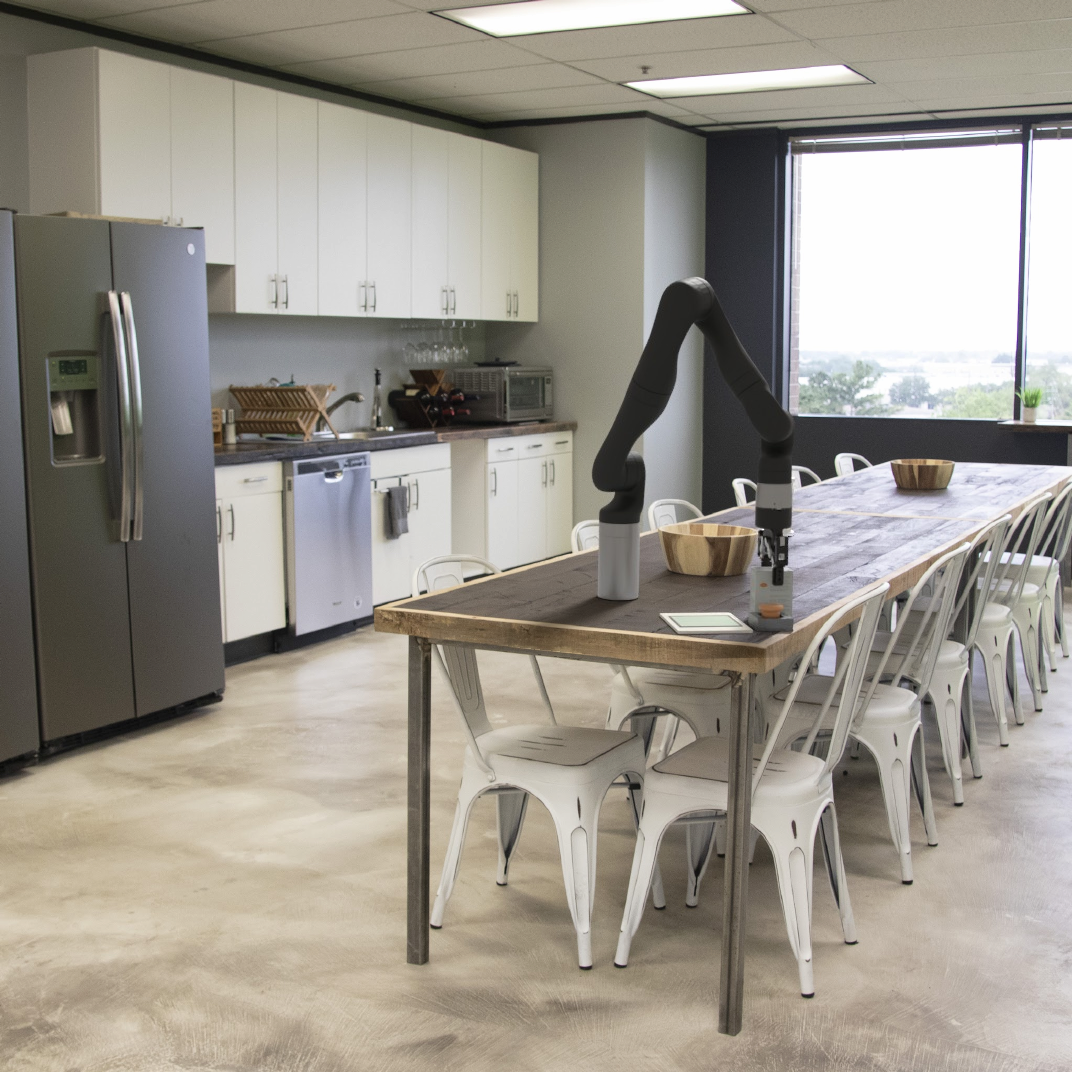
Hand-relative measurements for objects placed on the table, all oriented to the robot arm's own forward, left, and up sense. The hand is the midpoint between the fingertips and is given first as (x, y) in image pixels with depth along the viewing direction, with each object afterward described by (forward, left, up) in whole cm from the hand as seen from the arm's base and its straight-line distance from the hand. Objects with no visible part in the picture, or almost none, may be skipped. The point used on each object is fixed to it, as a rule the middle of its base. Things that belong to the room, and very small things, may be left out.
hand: (771, 582), depth 266 cm
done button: (+9, -3, -6) cm, 12 cm away
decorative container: (-128, +40, -8) cm, 135 cm away
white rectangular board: (+5, -15, -8) cm, 18 cm away
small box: (-1, 0, -8) cm, 8 cm away
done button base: (+9, -3, -8) cm, 12 cm away
